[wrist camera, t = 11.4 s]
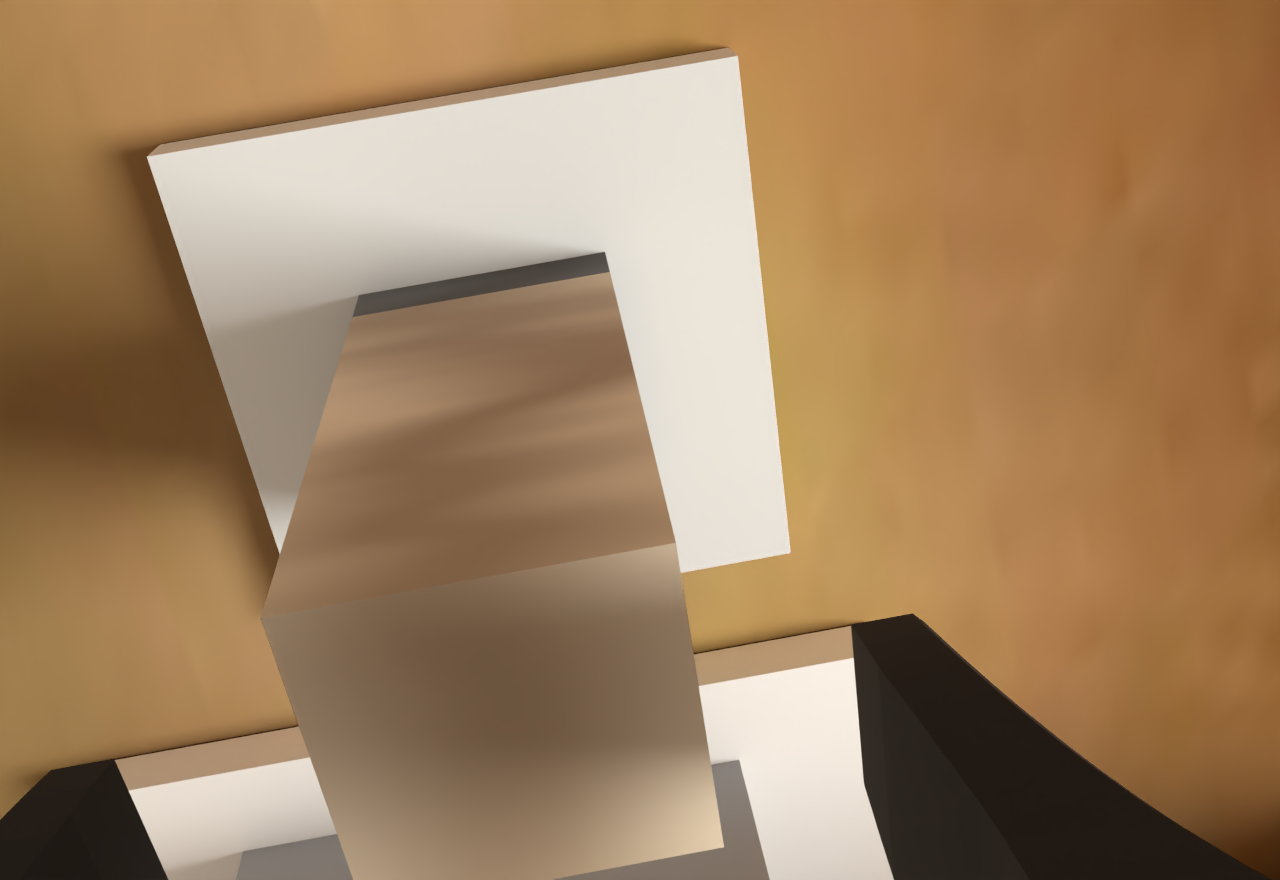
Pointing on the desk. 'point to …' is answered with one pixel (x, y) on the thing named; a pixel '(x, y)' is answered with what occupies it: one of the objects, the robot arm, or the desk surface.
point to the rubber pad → (502, 261)
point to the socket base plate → (730, 876)
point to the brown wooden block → (492, 592)
